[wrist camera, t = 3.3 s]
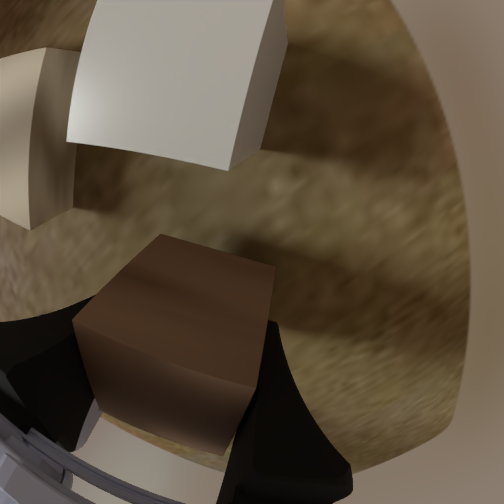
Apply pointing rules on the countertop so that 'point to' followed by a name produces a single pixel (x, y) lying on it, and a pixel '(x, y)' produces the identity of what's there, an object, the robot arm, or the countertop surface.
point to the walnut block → (178, 341)
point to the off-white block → (179, 78)
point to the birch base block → (36, 135)
